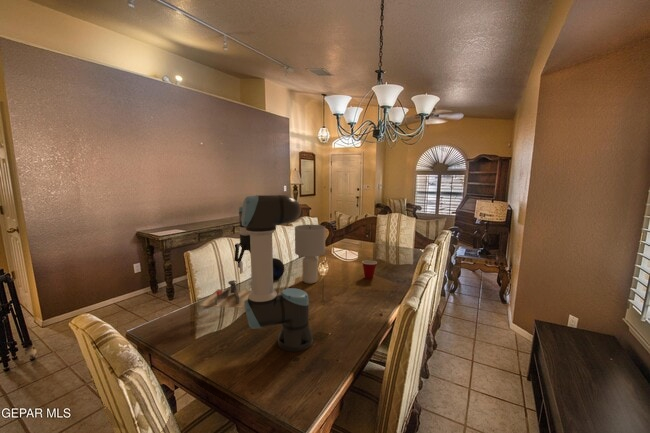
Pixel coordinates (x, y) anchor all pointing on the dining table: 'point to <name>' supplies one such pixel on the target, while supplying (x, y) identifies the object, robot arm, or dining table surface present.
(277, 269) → the decorative sphere
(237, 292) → the grey lever with knob
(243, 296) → the board
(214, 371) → the dining table surface
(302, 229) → the lamp
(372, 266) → the plastic cup
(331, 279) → the dining table surface
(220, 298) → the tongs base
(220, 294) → the tab
